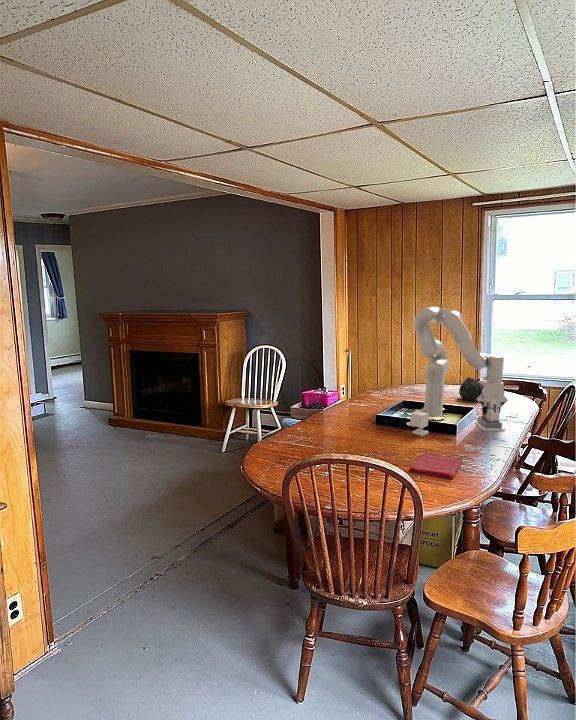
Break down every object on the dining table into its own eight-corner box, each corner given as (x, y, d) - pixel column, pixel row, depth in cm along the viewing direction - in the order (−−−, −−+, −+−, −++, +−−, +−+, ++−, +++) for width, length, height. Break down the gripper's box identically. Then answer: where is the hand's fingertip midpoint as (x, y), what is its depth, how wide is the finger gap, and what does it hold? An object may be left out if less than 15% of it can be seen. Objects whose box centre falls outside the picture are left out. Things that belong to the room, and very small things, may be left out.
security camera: (416, 430, 265) (417, 410, 264) (428, 433, 260) (430, 413, 259) (409, 432, 261) (410, 412, 259) (421, 436, 256) (423, 415, 254)
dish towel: (407, 473, 209) (407, 466, 208) (421, 455, 230) (422, 449, 229) (452, 482, 201) (452, 475, 201) (463, 463, 222) (463, 457, 221)
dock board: (482, 430, 269) (483, 422, 268) (474, 422, 282) (475, 415, 281) (504, 430, 268) (505, 423, 268) (495, 423, 281) (496, 416, 281)
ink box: (481, 419, 278) (481, 396, 278) (489, 418, 279) (489, 396, 279) (491, 421, 270) (491, 398, 269) (499, 421, 271) (499, 397, 270)
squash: (492, 392, 331) (479, 372, 336) (479, 396, 321) (466, 376, 327) (476, 404, 341) (463, 384, 346) (463, 408, 331) (450, 387, 337)
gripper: (478, 380, 268) (476, 415, 271) (513, 381, 267) (510, 416, 270) (474, 377, 275) (471, 411, 278) (508, 378, 274) (505, 412, 277)
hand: (490, 413), depth 274 cm, fingers closed on ink box, 6 cm apart
